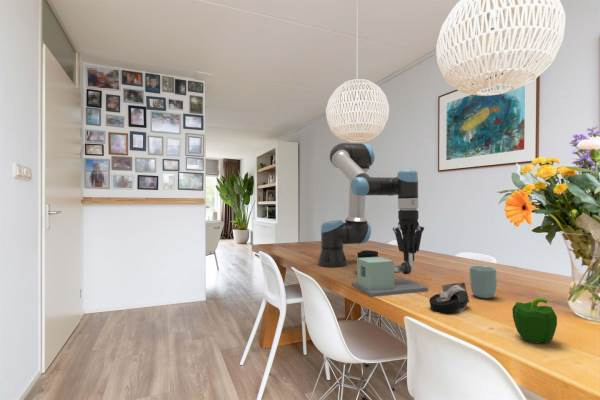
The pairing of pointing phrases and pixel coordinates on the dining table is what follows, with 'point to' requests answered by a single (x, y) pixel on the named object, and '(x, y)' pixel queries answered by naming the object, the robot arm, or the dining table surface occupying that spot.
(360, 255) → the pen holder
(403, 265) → the shaft
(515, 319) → the bell pepper
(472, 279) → the cup
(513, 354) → the dining table surface
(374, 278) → the block
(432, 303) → the caster wheel
